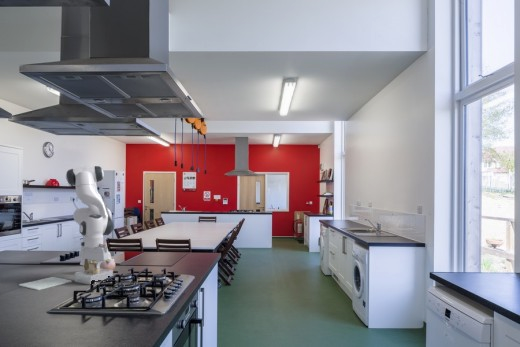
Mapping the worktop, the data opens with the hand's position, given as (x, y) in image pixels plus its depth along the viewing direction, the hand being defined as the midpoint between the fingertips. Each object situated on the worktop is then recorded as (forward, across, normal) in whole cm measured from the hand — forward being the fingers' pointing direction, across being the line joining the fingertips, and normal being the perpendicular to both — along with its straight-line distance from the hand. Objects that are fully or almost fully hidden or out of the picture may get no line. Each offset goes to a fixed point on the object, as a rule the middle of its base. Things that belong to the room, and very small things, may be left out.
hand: (94, 267), depth 192 cm
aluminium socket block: (+7, 0, 0) cm, 7 cm away
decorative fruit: (+7, +5, -13) cm, 16 cm away
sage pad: (+7, +17, +17) cm, 25 cm away
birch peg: (+7, 0, 0) cm, 7 cm away
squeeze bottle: (+7, +18, -11) cm, 22 cm away
